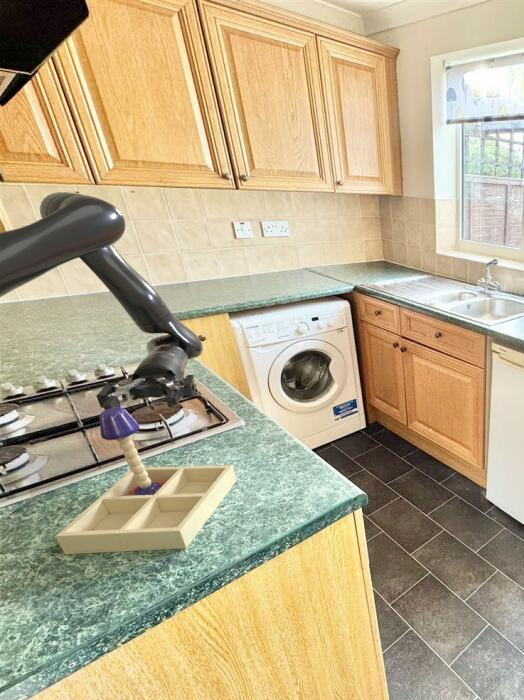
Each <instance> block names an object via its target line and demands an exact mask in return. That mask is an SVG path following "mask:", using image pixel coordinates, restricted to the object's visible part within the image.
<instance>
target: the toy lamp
mask: <svg viewBox="0 0 524 700" xmlns="http://www.w3.org/2000/svg"><path fill="white" fill-rule="evenodd" d="M99 428H100V429H99V430H100V436H101V438H102V439H103V440H106V441H117V442H118V443H119V448H120V450H122V454H123V456H124V457H125V458H126V463H127V464H128V466H129V469H130V471H132V472H133V473H134V477H135V479H136V480H137V483H138V485H139V487H138V488H137V489H136V490H135V491H134V493H133V496H137V495H154V494H155V493H156V492H157V491H158V490H159V489H160V488H161V487H162V485H161V484H159V483H156V482H151V480H150V478H148V473H147V472H146V471H145V467H146V466H145V465H144V463H143V462H142V459H141V456H140V455H139V452H138V450H137V448H135V442H134V441H133V440H132V435H134V434H136V433H137V432H138V431H139V430H140V424H139V423H138V421H136V420H135V419H134V417H132V415H131V414H130V413H129V412H128V411H127V409H125V408H124V407H122V406H121V407H115V408H110V409H107V410H103V411H101V412H100V413H99Z"/></svg>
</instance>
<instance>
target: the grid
mask: <svg viewBox="0 0 524 700" xmlns="http://www.w3.org/2000/svg"><path fill="white" fill-rule="evenodd" d="M144 467H145V471H146V472H147V473H148V478H150V480H151V482H156V483H159V484H161V485H162V487H161V488H160V489H159V490H158V491H157V492H156V493H155V494H154V495H137V496H133V493H134V491H135V490H136V489H137V488H138V487H139V485H138V483H137V480H136V479H135V477H134V473H133V472H132V471H131V470H129V471H128V472H127V473H126V474H125V475H123V476H122V477H121V478H120V479H119V480H117V482H116V483H114V485H112V486H111V487H110V488H108V490H107V491H105V492H104V493H103V494H102V495H101V496H100V497H98V498H97V499H96V500H95V501H94V502H93V503H91V504H90V505H89V506H88V507H87V508H86V509H85V510H83V511H82V512H81V513H80V514H79V515H77V516H76V517H75V518H74V519H73V520H72V521H70V523H69V524H67V525H66V526H65V527H64V528H62V529H61V531H60V532H58V533H57V534H56V535H55V539H56V540H57V542H58V544H59V546H60V548H61V550H62V551H63V553H64V555H76V554H80V555H81V554H98V553H99V554H101V553H117V552H118V553H120V552H121V553H122V552H139V551H141V552H142V551H143V552H144V551H160V550H161V551H162V550H181V549H182V550H183V549H184V550H185V549H188V547H189V546H190V544H191V543H192V541H193V540H194V539H195V538H196V536H197V535H198V534H199V532H200V531H201V529H202V528H203V527H204V525H205V524H206V523H207V521H209V519H210V517H211V516H212V515H213V513H214V512H215V511H216V509H217V508H218V506H219V505H221V502H222V501H223V500H224V499H225V497H226V496H227V495H228V493H229V492H230V491H231V489H232V488H233V487H234V485H235V484H236V482H238V481H237V476H236V473H235V470H234V465H233V464H228V465H227V464H224V465H222V464H221V465H187V466H186V465H185V466H148V467H147V466H144Z"/></svg>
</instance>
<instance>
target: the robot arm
mask: <svg viewBox="0 0 524 700" xmlns="http://www.w3.org/2000/svg"><path fill="white" fill-rule="evenodd" d="M39 214H40V219H38V220H36V221H34V222H32V223H30V224H27V225H24V226H21V227H18V228H15V229H11V230H6V231H1V232H0V298H1V297H3V296H6V295H7V294H9V293H11V292H13V291H15V290H17V289H18V288H20V287H22V286H24V285H26V284H28V283H30V282H32V281H34V280H35V279H38V278H40V277H41V276H43V275H45V274H46V273H49V272H50V271H52V270H54V269H56V268H58V267H60V266H62V265H64V264H66V263H69V262H72V261H73V260H76V259H80V260H81V261H82V262H83V263H84V264H85V265H86V266H87V267H88V268H89V269H90V270H91V272H92V273H93V274H94V275H95V276H96V277H97V278H98V279H99V281H101V282H102V283H103V285H104V286H105V287H106V288H107V289H108V291H109V292H110V293H111V294H112V295H113V297H114V298H115V300H117V302H118V303H119V304H120V306H121V307H122V308H123V309H124V311H125V312H126V313H127V315H128V316H129V317H130V319H131V320H132V321H133V322H134V325H136V326H137V328H138V329H139V330H140V331H141V332H143V333H145V334H164V335H161V336H157V337H154V338H152V339H150V340H148V341H147V343H146V351H147V353H148V355H147V356H146V357H144V358H143V359H142V360H141V362H140V363H139V364H138V366H137V367H136V369H135V370H134V372H133V373H132V375H131V379H130V381H129V382H127V383H125V385H118V386H117V385H116V383H115V382H109V383H107V384H105V386H104V387H103V388H101V390H100V391H99V392H98V393H97V394H96V395H95V397H96V399H97V401H98V405H99V406H100V408H101V409H104V410H103V411H105V410H107V409H110V408H115V407H121V408H122V406H124V405H133V404H135V403H137V402H139V401H142V400H147V399H149V398H155V399H156V398H157V399H158V398H165V400H166V403H167V407H168V408H169V409H170V408H175V406H176V405H178V404H179V403H180V401H181V400H183V399H184V397H187V398H193V397H195V395H196V390H197V383H196V379H195V376H194V374H188V375H186V376H185V370H186V368H187V366H188V362H189V360H192V359H196V358H198V357H200V356H201V355H202V354H203V352H204V351H203V350H204V345H203V342H202V341H201V339H200V337H199V336H198V335H197V334H196V333H195V332H194V331H192V330H191V329H190V328H189V327H187V326H186V325H185V324H184V323H183V322H182V321H181V320H179V319H178V317H176V316H175V315H174V314H173V313H172V311H171V310H170V309H169V307H168V306H167V304H166V303H165V301H164V300H163V298H162V297H161V295H160V293H158V292H157V290H156V289H155V288H154V287H153V286H152V285H151V284H150V283H149V282H148V281H147V280H146V279H145V278H144V276H142V275H141V274H140V273H138V271H136V270H135V269H134V268H133V267H132V266H131V264H129V262H127V261H126V260H125V258H124V257H123V256H122V255H121V254H120V252H119V251H118V250H117V248H116V247H115V246H114V245H115V244H116V243H117V242H118V241H120V239H121V238H122V237H123V235H124V233H125V231H126V220H125V217H124V215H123V213H122V212H121V211H120V210H119V209H118V207H116V205H113V204H112V203H110V202H108V201H106V200H105V199H101V198H99V197H95V196H91V195H87V194H81V193H75V192H68V191H57V192H53V193H49V194H48V195H46V196H45V197H44V198H43V199H42V201H41V202H40V204H39ZM184 376H185V377H184ZM120 397H121V398H122V399H121V400H119V398H120Z"/></svg>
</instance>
